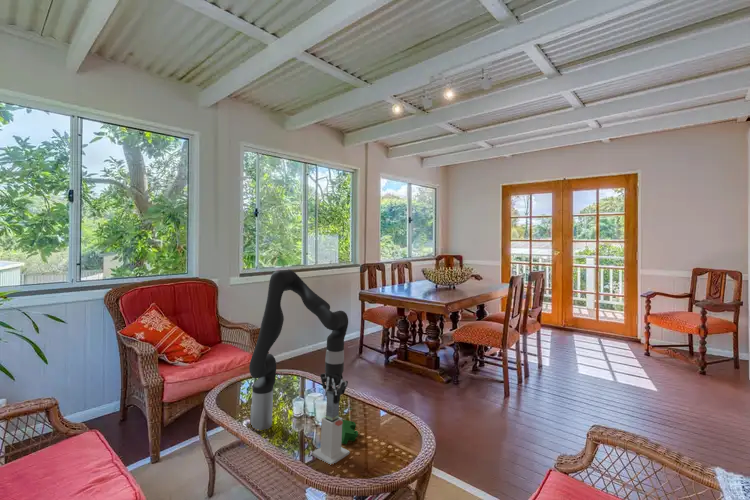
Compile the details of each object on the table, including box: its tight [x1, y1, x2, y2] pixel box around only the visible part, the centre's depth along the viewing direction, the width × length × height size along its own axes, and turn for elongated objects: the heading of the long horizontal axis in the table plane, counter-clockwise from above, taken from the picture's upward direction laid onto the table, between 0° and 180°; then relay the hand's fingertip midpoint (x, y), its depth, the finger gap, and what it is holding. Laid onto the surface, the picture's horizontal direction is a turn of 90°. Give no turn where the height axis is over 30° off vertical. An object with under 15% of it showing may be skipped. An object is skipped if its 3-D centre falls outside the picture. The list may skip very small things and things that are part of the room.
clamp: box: [341, 419, 359, 445], centre depth 164 cm, size 12×6×9 cm, turn 5°
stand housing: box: [311, 416, 351, 466], centre depth 151 cm, size 11×11×15 cm
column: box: [325, 387, 340, 422], centre depth 151 cm, size 4×4×20 cm
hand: (332, 401), depth 150 cm, fingers closed on column, 3 cm apart
